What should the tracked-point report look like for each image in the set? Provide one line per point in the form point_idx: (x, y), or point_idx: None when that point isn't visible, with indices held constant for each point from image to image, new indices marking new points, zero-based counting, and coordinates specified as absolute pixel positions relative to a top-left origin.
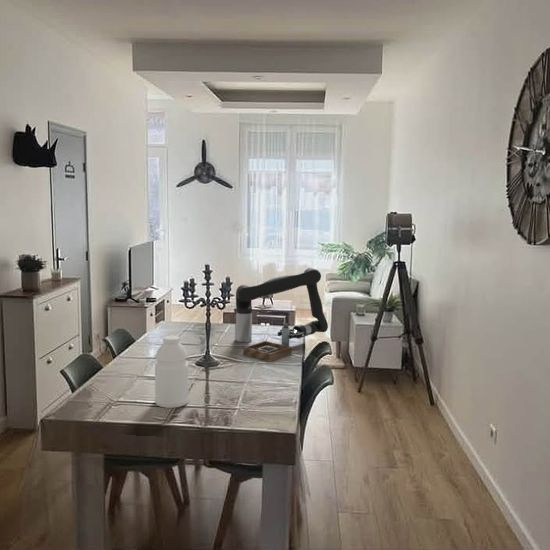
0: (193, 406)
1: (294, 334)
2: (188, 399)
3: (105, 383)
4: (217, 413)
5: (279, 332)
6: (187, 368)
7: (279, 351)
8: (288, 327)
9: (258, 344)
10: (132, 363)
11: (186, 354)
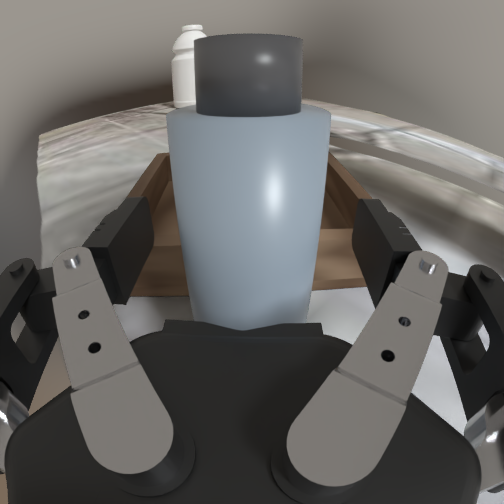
0: (163, 109)
1: (79, 255)
2: (176, 105)
3: (310, 102)
4: (126, 114)
5: (365, 209)
6: (172, 63)
7: (139, 180)
8: (218, 120)
9: (349, 194)
10: (379, 119)
11: (174, 46)
